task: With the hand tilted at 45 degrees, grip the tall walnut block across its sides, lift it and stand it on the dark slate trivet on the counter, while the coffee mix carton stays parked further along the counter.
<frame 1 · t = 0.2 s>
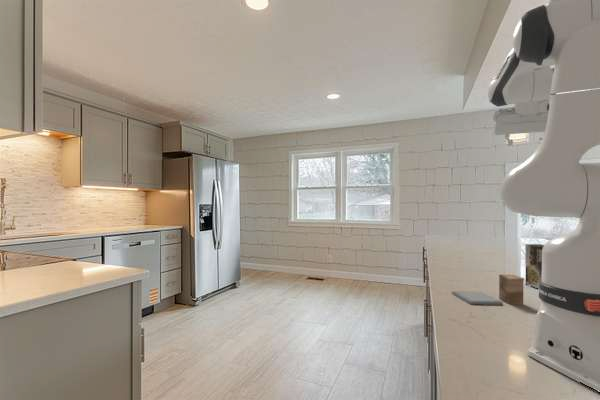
hand: (525, 144, 109), 54 cm above the countertop, tool tilted 30°, fingers open, 8 cm apart
slate trivet: (475, 299, 96), on the countertop
coffee box: (542, 288, 111), on the countertop
walnut block: (510, 301, 94), on the countertop
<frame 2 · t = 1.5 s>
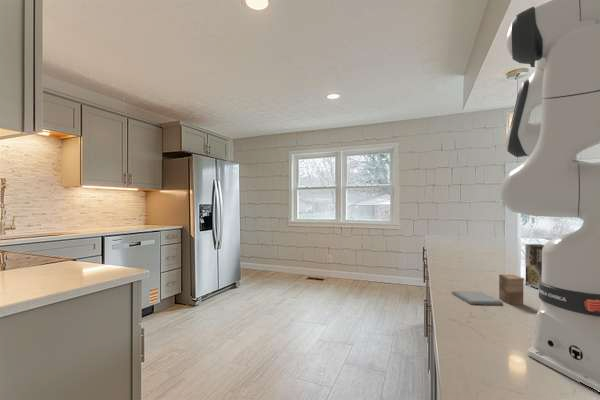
hand: (557, 211, 93), 29 cm above the countertop, tool pointing down, fingers open, 8 cm apart
nothing on the countertop moved.
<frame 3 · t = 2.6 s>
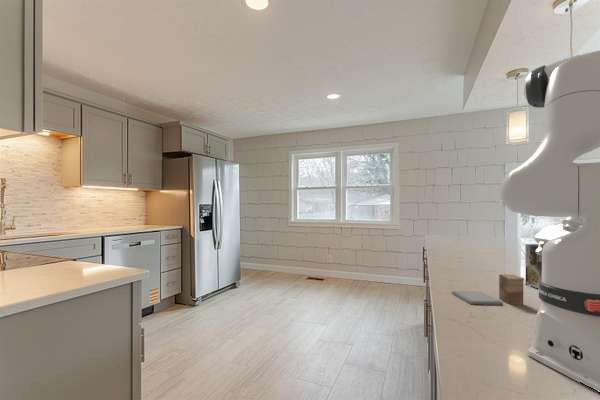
hand: (549, 256, 95), 15 cm above the countertop, tool tilted 45°, fingers open, 8 cm apart
nothing on the countertop moved.
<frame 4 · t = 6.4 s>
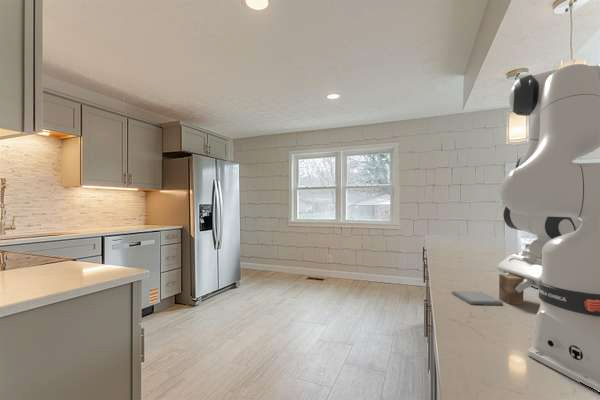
hand: (509, 287, 94), 4 cm above the countertop, tool tilted 45°, fingers closed on walnut block, 4 cm apart
walnut block: (510, 301, 94), on the countertop, touching gripper
everything else where it was.
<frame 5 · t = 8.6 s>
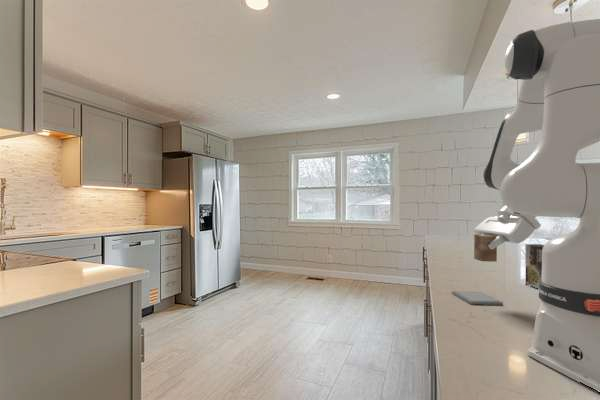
hand: (483, 246, 96), 17 cm above the countertop, tool tilted 45°, fingers closed on walnut block, 4 cm apart
walnut block: (485, 260, 96), point 13 cm above the countertop, touching gripper
everything else where it was.
when the fingers open (6 cm above the countertop, at t = 11.2 s): walnut block drops 1 cm, resting on slate trivet.
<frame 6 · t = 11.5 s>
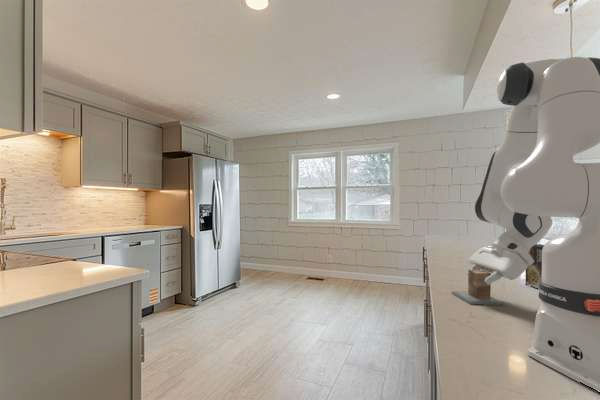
hand: (477, 279, 96), 6 cm above the countertop, tool tilted 45°, fingers open, 7 cm apart
walnut block: (479, 296, 96), point 1 cm above the countertop, touching slate trivet
everything else where it was.
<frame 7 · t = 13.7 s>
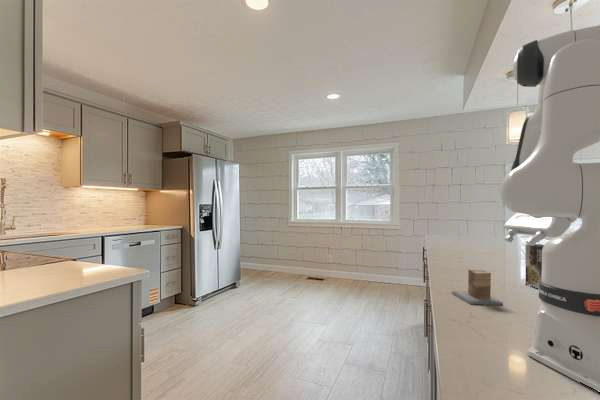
hand: (517, 242, 96), 19 cm above the countertop, tool tilted 40°, fingers open, 8 cm apart
nothing on the countertop moved.
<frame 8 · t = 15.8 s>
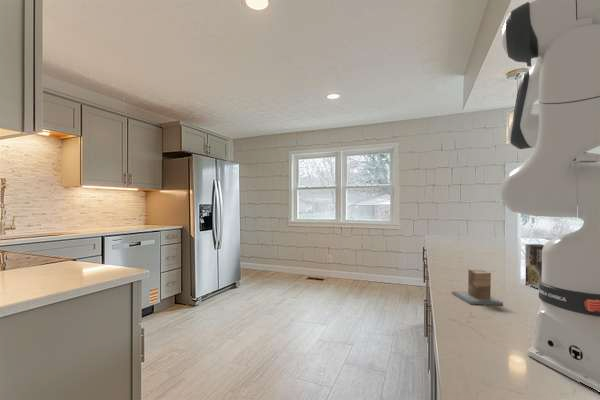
hand: (563, 205, 90), 31 cm above the countertop, tool pointing down, fingers open, 8 cm apart
nothing on the countertop moved.
at the end: walnut block inside the target area on the slate trivet (1.0 cm from its centre), point 0.9 cm above the slate trivet's base; walnut block tilted 0°; the gripper is holding nothing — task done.
